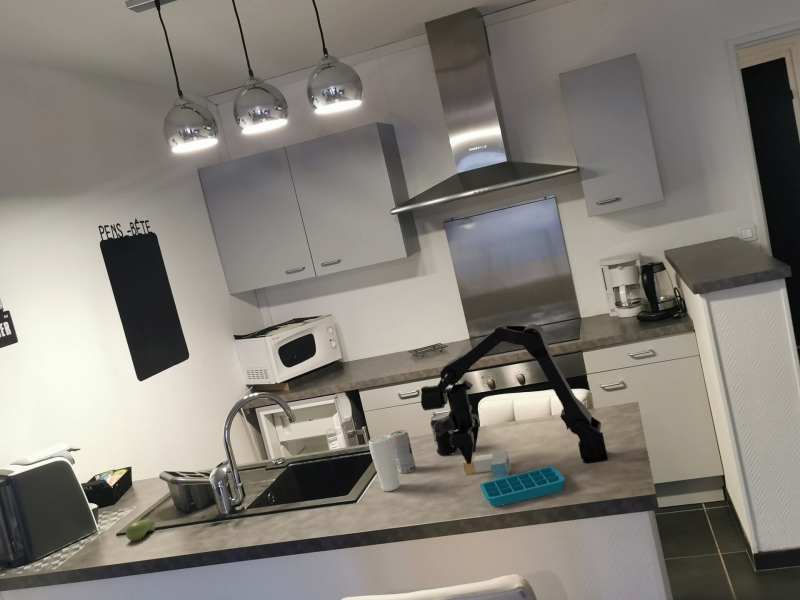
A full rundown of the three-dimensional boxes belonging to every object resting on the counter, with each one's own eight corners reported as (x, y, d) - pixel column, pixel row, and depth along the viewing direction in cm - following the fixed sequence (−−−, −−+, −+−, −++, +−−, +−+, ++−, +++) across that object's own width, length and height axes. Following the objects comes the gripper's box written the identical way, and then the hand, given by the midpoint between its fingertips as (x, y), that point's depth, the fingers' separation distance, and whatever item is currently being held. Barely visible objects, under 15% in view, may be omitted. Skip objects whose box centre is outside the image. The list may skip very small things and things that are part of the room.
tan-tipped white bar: (503, 464, 203) (500, 452, 203) (501, 469, 199) (499, 457, 199) (467, 469, 206) (464, 457, 205) (465, 474, 202) (463, 462, 201)
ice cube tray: (568, 491, 175) (565, 480, 175) (489, 511, 174) (486, 499, 174) (555, 476, 186) (553, 465, 186) (481, 494, 186) (478, 483, 185)
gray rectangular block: (511, 469, 197) (507, 451, 196) (509, 482, 188) (504, 463, 188) (497, 471, 198) (493, 453, 197) (494, 484, 189) (490, 465, 189)
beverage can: (450, 456, 219) (442, 419, 218) (433, 456, 224) (425, 420, 222) (461, 448, 225) (453, 412, 224) (444, 448, 229) (436, 413, 228)
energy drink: (416, 465, 219) (408, 428, 217) (415, 471, 213) (406, 434, 212) (399, 468, 219) (391, 432, 218) (398, 475, 214) (389, 437, 213)
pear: (120, 526, 208) (142, 516, 218) (123, 544, 208) (145, 533, 217) (135, 524, 207) (157, 514, 216) (138, 542, 206) (160, 532, 216)
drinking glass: (375, 493, 203) (363, 443, 201) (386, 483, 209) (375, 435, 207) (396, 493, 200) (384, 442, 198) (406, 483, 205) (395, 433, 204)
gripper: (437, 400, 212) (449, 450, 214) (426, 420, 194) (438, 473, 196) (474, 394, 209) (485, 445, 211) (465, 413, 191) (478, 468, 193)
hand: (471, 457), depth 203 cm, fingers open, 9 cm apart
